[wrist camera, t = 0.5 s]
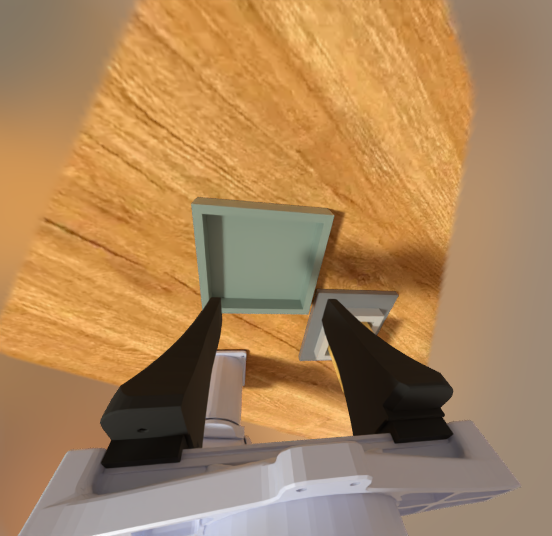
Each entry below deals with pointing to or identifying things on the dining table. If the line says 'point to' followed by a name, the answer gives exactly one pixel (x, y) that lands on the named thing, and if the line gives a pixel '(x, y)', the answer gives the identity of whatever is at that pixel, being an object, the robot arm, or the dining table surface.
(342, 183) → the dining table surface
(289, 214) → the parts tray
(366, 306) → the board
